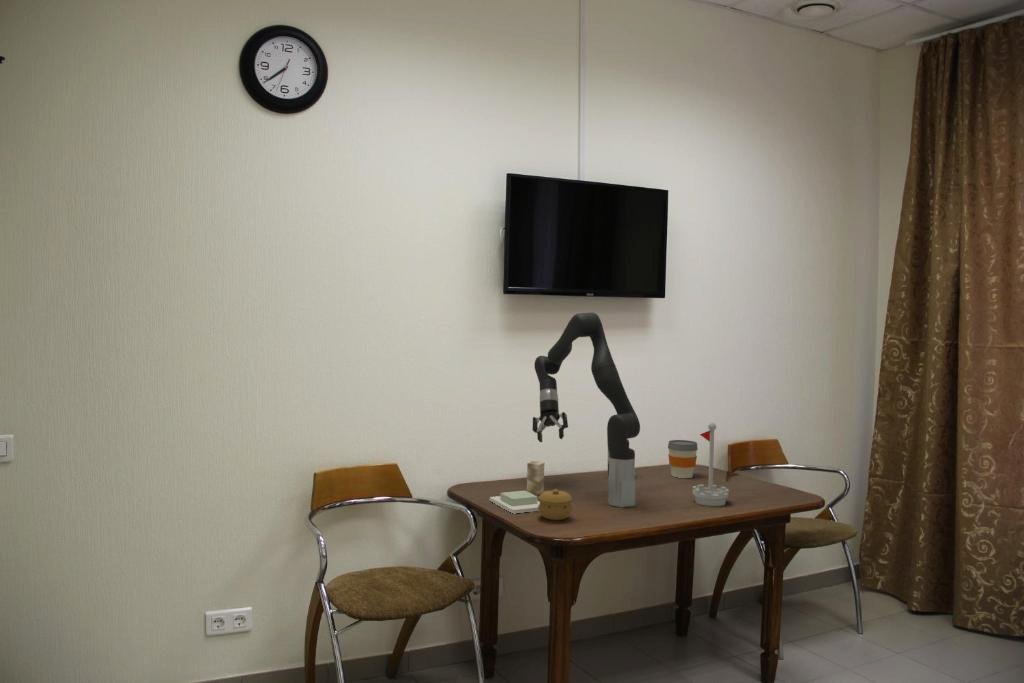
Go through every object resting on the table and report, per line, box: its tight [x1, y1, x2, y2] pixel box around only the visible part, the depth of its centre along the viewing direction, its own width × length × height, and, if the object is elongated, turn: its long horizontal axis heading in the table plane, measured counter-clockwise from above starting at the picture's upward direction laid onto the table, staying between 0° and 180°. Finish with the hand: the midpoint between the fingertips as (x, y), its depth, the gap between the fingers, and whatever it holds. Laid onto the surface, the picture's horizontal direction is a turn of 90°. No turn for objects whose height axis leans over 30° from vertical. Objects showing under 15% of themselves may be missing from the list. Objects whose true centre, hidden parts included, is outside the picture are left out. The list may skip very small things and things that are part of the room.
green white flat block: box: [489, 490, 540, 515], centre depth 277 cm, size 20×14×4 cm
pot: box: [537, 488, 574, 521], centre depth 261 cm, size 12×12×10 cm
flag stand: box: [692, 422, 730, 507], centre depth 287 cm, size 13×13×30 cm
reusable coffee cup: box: [667, 439, 699, 479], centre depth 332 cm, size 13×13×15 cm
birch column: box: [526, 460, 545, 495], centre depth 296 cm, size 5×5×12 cm
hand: (550, 440), depth 304 cm, fingers open, 8 cm apart
